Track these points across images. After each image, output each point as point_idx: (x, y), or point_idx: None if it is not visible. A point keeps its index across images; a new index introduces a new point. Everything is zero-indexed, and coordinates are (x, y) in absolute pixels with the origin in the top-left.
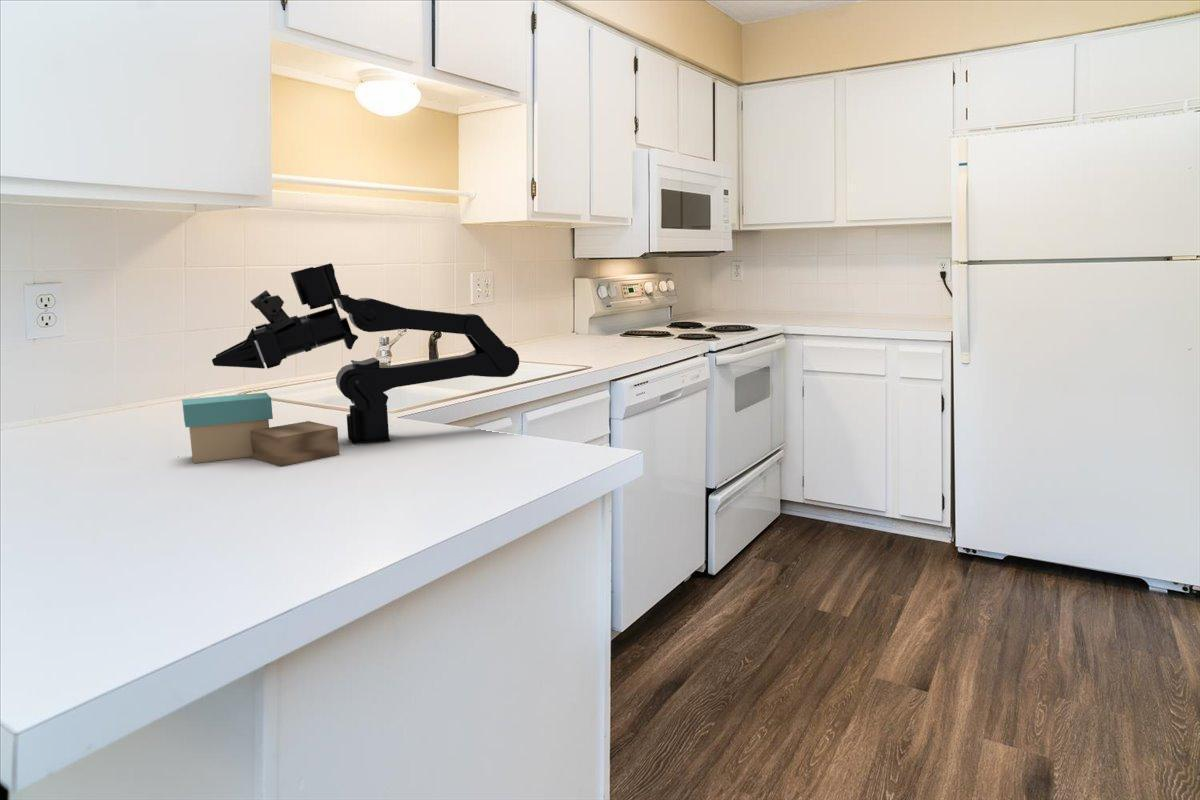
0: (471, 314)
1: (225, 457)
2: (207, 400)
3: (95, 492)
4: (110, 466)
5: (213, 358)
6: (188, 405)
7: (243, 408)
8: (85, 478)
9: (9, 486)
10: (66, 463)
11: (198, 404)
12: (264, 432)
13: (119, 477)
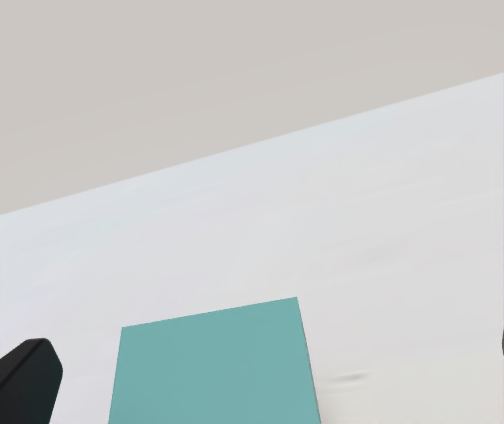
0: None
1: None
2: (196, 407)
3: (56, 281)
4: (293, 248)
5: (33, 343)
6: (121, 346)
7: None
8: (194, 236)
9: (204, 157)
10: (367, 170)
11: (114, 382)
12: None
13: (162, 290)
